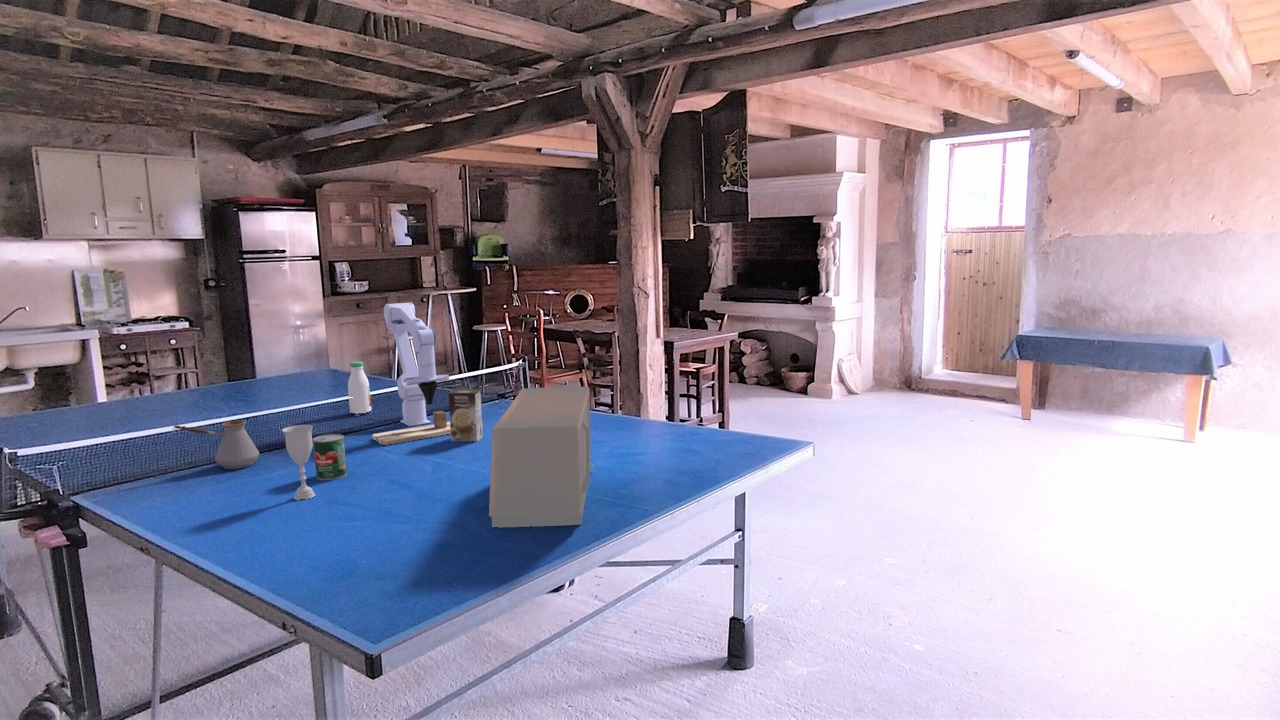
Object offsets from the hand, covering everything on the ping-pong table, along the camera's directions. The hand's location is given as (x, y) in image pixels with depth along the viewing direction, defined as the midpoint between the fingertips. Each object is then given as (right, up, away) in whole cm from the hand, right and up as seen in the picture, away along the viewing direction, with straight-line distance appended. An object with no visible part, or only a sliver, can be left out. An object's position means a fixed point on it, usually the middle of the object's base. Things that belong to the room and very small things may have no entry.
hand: (429, 403), depth 254 cm
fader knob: (+4, -8, 0) cm, 8 cm away
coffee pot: (-50, -17, -37) cm, 65 cm away
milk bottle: (-35, -6, +31) cm, 47 cm away
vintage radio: (+49, -19, -68) cm, 86 cm away
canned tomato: (-14, -18, -46) cm, 52 cm away
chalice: (-14, -20, -63) cm, 68 cm away
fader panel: (-2, -10, -4) cm, 11 cm away
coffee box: (+15, -11, -11) cm, 22 cm away
